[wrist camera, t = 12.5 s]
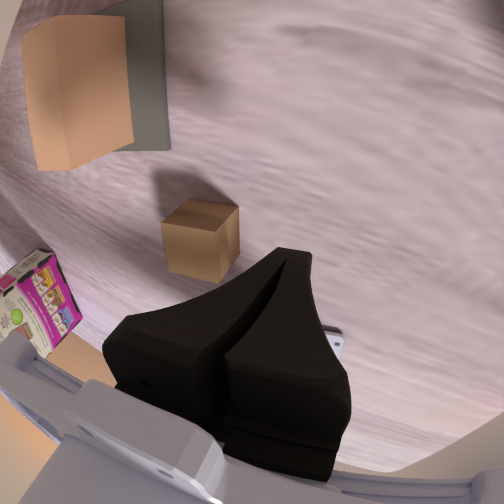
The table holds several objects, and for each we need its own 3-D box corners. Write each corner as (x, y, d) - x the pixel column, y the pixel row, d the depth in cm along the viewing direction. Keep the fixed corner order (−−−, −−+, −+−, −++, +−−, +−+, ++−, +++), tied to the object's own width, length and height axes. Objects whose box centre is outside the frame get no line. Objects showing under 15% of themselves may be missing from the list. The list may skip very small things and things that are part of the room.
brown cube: (239, 253, 25) (218, 283, 22) (192, 244, 26) (166, 271, 23) (239, 205, 23) (215, 231, 19) (188, 198, 24) (158, 222, 21)
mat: (171, 148, 22) (167, 150, 21) (81, 151, 25) (77, 153, 24) (162, -8, 15) (158, -9, 15) (69, 26, 18) (64, 26, 18)
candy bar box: (35, 246, 36) (-51, 319, 23) (55, 251, 34) (-39, 332, 21) (64, 311, 41) (-5, 384, 28) (84, 319, 40) (12, 400, 27)
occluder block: (134, 141, 22) (71, 170, 17) (98, 143, 23) (38, 171, 18) (124, 16, 17) (55, 15, 11) (88, 29, 18) (21, 35, 13)
